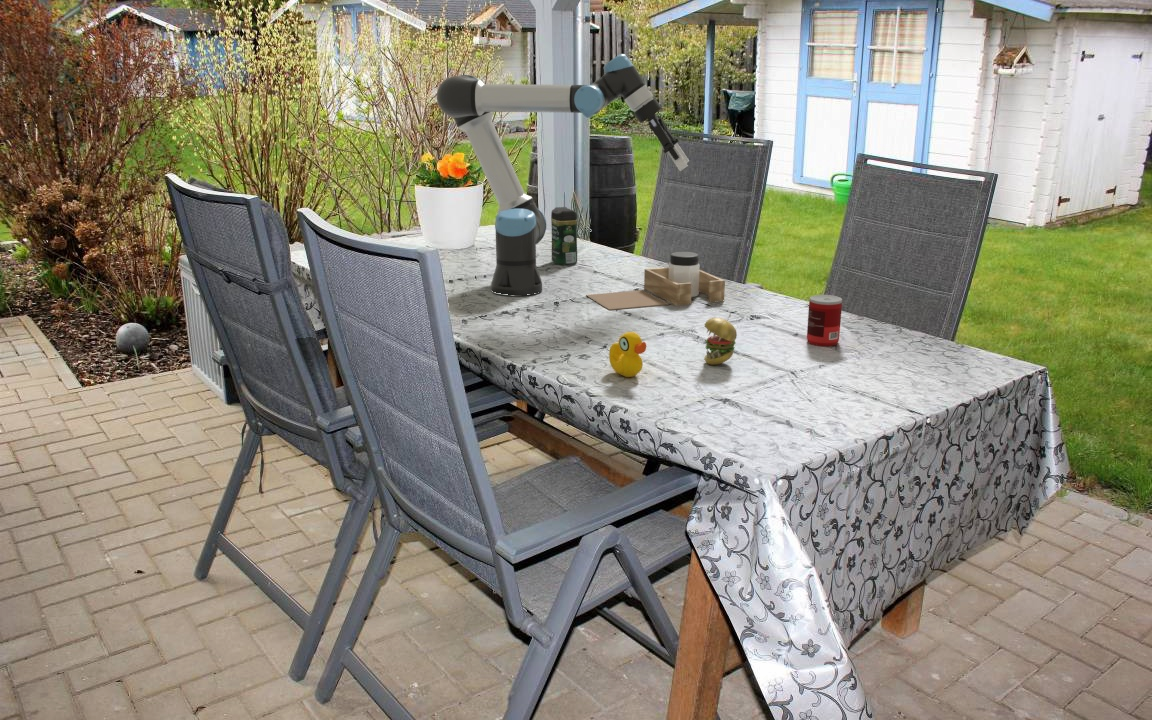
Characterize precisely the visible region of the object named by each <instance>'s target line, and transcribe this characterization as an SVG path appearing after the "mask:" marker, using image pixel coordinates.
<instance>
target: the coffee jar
mask: <svg viewBox="0 0 1152 720" xmlns="http://www.w3.org/2000/svg"><path fill="white" fill-rule="evenodd" d="M550 216H551V217H550V219H551V222H550V223H551V261H552V263H554V264H556V265H558V266H572V265H575V264H577V263H578V237H577V235H578V234H577V233H578V232H577V231H578V212H577V211H575V210H573V209H571V208H568V207H567V206H561V207H560V206H558V207H557V206H556V207H554V208H553V209H552V210H551V215H550Z"/></svg>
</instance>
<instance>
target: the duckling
mask: <svg viewBox="0 0 1152 720" xmlns="http://www.w3.org/2000/svg"><path fill="white" fill-rule="evenodd" d="M646 349H647V343H646V342H645V341H643V340H642V338H641V336H640V335H639V333H636V332H635V331H627V332H625V333H623V334H622V335H621V336H619V338H618V342H614V343H612V344H611V346H610V348H609V354H608V355H609V357H608V358H609V360H608V361H609V363H610V366H611V368H612V369H613V371H615V373H617V374H619V375H621V376H623V377H626V378H632V377H635V376H636V375H638V374H639V373H640V372H641V371H642V369H643V365H644V364H643V362H644V361H643V359H642V357H641V356H640V354H643V353H645V352H646Z"/></svg>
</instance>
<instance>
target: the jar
mask: <svg viewBox="0 0 1152 720" xmlns="http://www.w3.org/2000/svg"><path fill="white" fill-rule="evenodd" d="M669 255H670V256H669V257H670V258H669V259H670V260H669V262H668V267H669V276H668V279H670V280H672V281H674V282H676V283H678V284H679V283H692V284H691V298H695V297H698V296H699V295H700V294H699V292H700V291H699V270H700V263H699V261H700V260H699V259H700V257H699V254H698V253H696V252H692V251H676V252H672V253H670V254H669Z"/></svg>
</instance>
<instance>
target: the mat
mask: <svg viewBox="0 0 1152 720" xmlns="http://www.w3.org/2000/svg"><path fill="white" fill-rule="evenodd" d="M587 296H588V297H587ZM585 297H587V298H589V299H590V298H591V299H590V300H592V299H593V300H594V302H595V301H596V302H595V303H597V304H598V305H600V306H601V307H603V308H605V309H606V310H608V311H615V310H628V309H638V308H649V307H651V308H652V307H659V306H660V307H661V306H669V305H670V303H669V302H668V301H666V300H664V299H662V298H660V297H658V296H656V295H655V296H654V294H652V293H650V292H649V291H647V290H645V289H642V290H629V291H617V292H605V293H604V292H603V293H595V294H594V293H592V294H586V295H585ZM593 300H592V301H593Z"/></svg>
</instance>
